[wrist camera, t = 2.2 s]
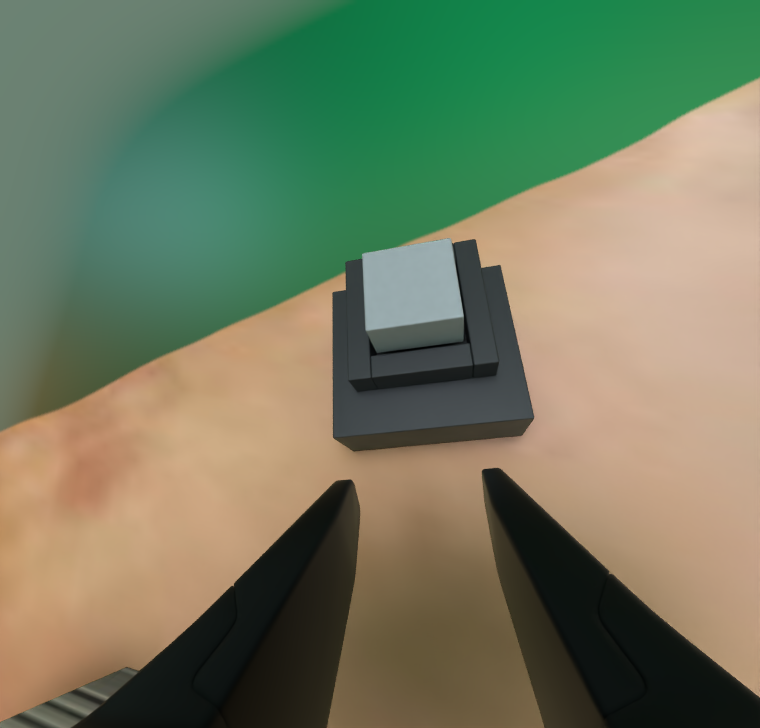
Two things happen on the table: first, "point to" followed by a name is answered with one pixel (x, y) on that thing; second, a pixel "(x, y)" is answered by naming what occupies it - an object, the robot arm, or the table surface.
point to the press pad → (412, 296)
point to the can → (71, 704)
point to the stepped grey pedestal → (430, 370)
